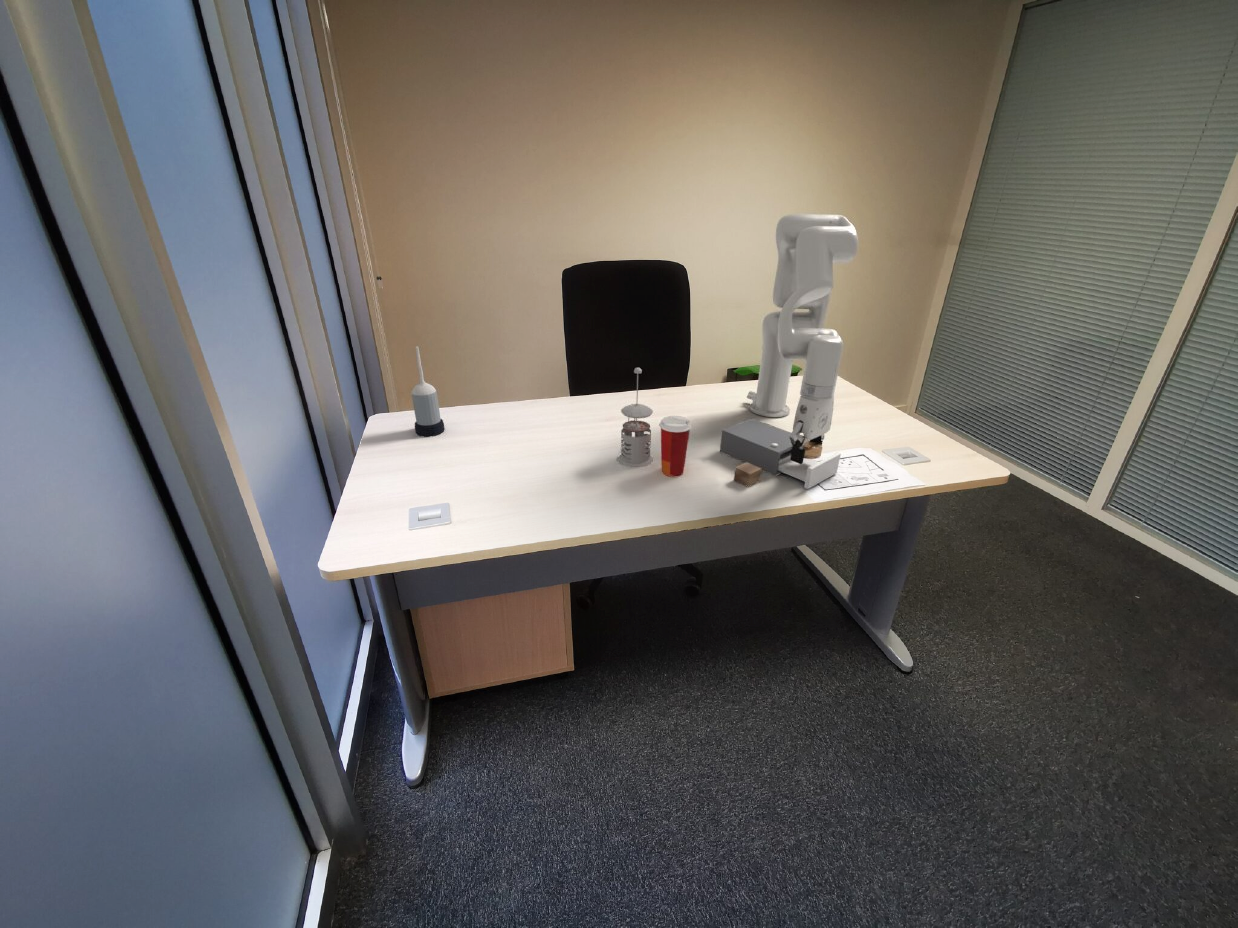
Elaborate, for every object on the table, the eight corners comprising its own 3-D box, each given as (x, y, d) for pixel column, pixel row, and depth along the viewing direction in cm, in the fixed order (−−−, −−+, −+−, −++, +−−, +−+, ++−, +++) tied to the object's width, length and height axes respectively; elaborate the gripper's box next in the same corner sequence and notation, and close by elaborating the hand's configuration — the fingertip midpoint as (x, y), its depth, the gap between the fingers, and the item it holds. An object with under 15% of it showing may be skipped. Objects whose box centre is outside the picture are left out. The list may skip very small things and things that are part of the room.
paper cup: (690, 467, 139) (694, 417, 133) (683, 481, 133) (687, 428, 126) (661, 462, 141) (663, 413, 135) (653, 475, 135) (655, 424, 129)
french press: (620, 468, 138) (621, 374, 127) (613, 449, 148) (614, 360, 137) (657, 466, 140) (662, 373, 128) (648, 447, 150) (651, 359, 138)
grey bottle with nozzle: (444, 424, 163) (431, 342, 151) (445, 435, 156) (432, 349, 145) (415, 427, 161) (401, 344, 149) (415, 438, 154) (400, 352, 142)
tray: (746, 462, 141) (749, 443, 139) (776, 448, 149) (778, 431, 147) (807, 489, 129) (811, 469, 127) (836, 472, 137) (840, 453, 134)
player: (719, 451, 148) (722, 428, 145) (749, 439, 155) (752, 417, 152) (775, 475, 136) (779, 451, 132) (804, 461, 143) (808, 437, 140)
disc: (810, 461, 130) (812, 454, 129) (785, 451, 134) (787, 444, 133) (826, 453, 134) (828, 446, 133) (801, 444, 138) (803, 437, 138)
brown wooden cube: (733, 479, 134) (735, 467, 132) (745, 474, 136) (746, 462, 135) (748, 486, 130) (750, 474, 129) (759, 481, 133) (761, 468, 131)
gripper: (811, 401, 119) (798, 473, 127) (851, 386, 129) (837, 453, 137) (782, 392, 124) (771, 462, 132) (823, 378, 134) (811, 443, 142)
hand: (805, 457), depth 135 cm, fingers closed on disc, 7 cm apart
